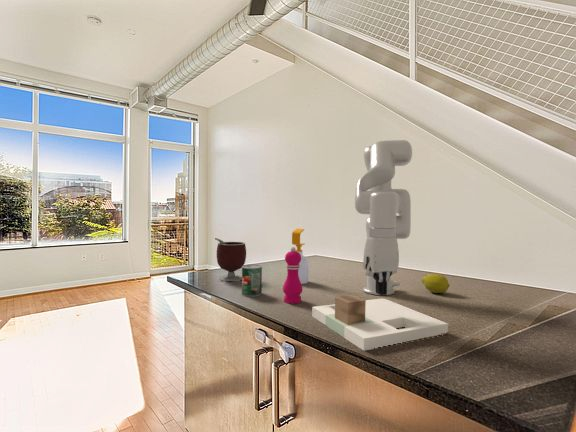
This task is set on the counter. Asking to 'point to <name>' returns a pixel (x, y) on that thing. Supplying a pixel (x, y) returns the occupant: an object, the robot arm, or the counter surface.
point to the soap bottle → (304, 261)
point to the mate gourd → (231, 258)
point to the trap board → (381, 324)
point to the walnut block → (350, 309)
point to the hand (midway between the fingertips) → (381, 293)
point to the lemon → (436, 283)
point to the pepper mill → (292, 278)
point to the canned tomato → (251, 280)
